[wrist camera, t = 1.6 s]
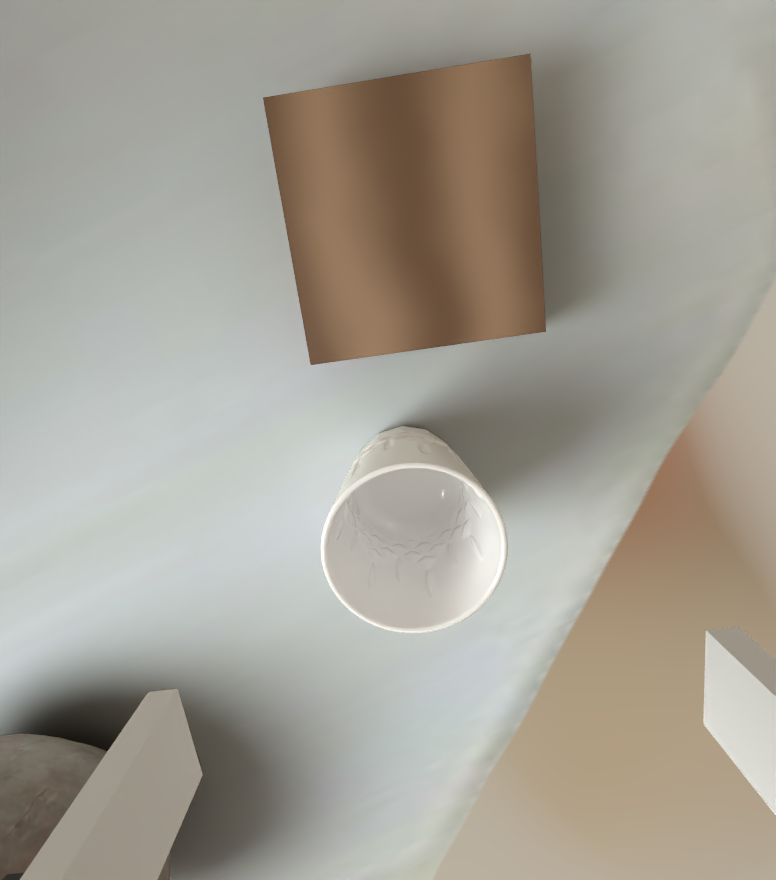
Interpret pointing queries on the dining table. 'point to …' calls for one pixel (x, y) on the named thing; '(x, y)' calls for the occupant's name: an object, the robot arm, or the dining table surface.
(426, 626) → the white cup
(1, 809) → the clay pot
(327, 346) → the walnut plinth
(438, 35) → the dining table surface
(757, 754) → the robot arm
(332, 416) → the dining table surface
